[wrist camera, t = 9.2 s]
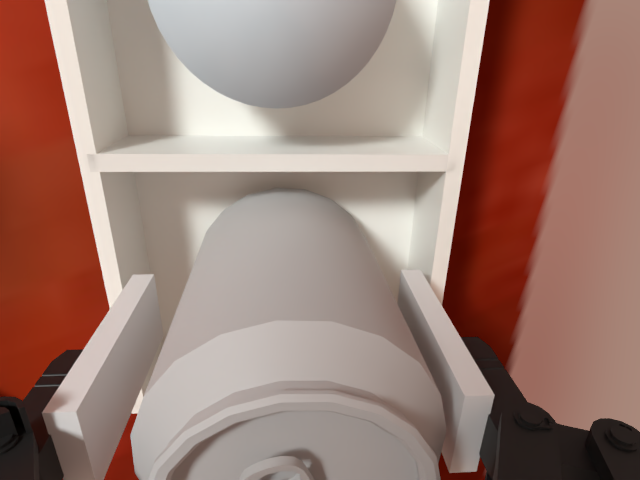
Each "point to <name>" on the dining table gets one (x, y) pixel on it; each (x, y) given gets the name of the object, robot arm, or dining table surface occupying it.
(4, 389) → the dining table surface
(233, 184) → the caddy
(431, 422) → the can
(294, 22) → the white dome
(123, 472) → the dining table surface
